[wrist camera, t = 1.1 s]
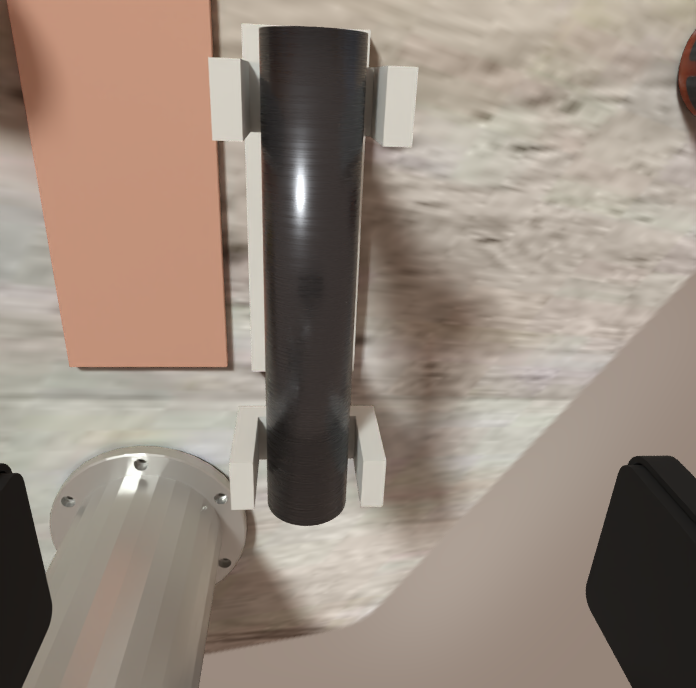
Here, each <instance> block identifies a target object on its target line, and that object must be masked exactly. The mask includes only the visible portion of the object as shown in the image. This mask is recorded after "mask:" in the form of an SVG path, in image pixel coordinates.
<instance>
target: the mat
mask: <svg viewBox="0 0 696 688" xmlns="http://www.w3.org/2000/svg"><path fill="white" fill-rule="evenodd" d="M7 6H8V11H9V17H10V23H11V29H12V35H13V40H14V46H15V52H16V58H17V64H18V69H19V75H20V81H21V87H22V93H23V99H24V104H25V110H26V116H27V122H28V128H29V133H30V139H31V145H32V151H33V157H34V162H35V168H36V174H37V180H38V186H39V192H40V197H41V203H42V209H43V215H44V221H45V226H46V232H47V238H48V244H49V250H50V256H51V261H52V267H53V273H54V279H55V285H56V290H57V296H58V302H59V308H60V314H61V319H62V325H63V331H64V337H65V343H66V349H67V354H68V360H69V366H70V367H227V365H228V350H227V329H226V309H225V288H224V267H223V246H222V226H221V205H220V184H219V163H218V143H217V141H213V140H212V124H211V104H210V85H209V65H208V57H213V39H212V18H211V0H7Z"/></svg>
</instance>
